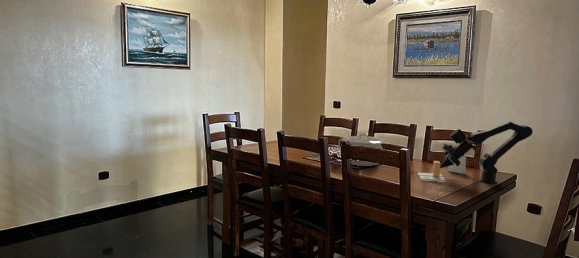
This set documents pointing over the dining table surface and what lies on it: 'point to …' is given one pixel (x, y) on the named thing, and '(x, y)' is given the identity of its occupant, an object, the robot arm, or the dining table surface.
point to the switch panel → (430, 177)
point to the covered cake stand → (363, 141)
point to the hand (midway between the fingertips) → (439, 167)
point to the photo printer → (460, 168)
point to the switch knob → (436, 168)
